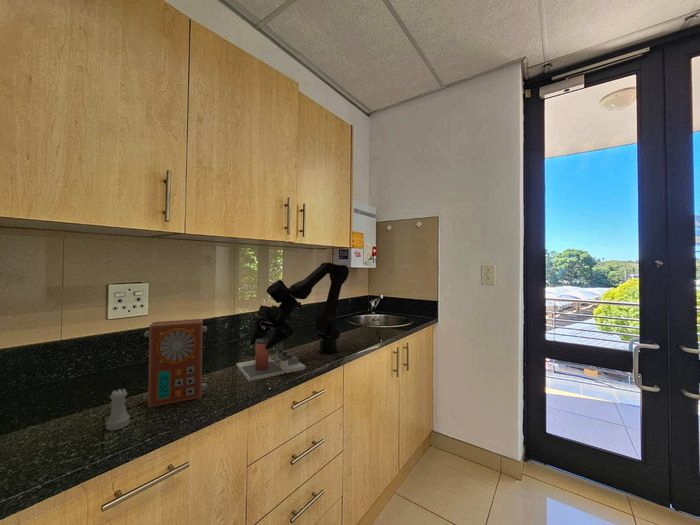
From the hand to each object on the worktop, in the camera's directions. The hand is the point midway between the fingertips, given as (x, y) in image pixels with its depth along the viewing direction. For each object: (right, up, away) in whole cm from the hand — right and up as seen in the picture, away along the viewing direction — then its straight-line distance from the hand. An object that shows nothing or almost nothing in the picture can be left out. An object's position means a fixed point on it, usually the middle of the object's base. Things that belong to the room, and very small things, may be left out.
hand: (258, 346), depth 100 cm
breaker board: (+3, -10, +6) cm, 11 cm away
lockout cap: (+1, -8, +1) cm, 8 cm away
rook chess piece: (-22, -9, -34) cm, 41 cm away
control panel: (-17, -9, -19) cm, 27 cm away
